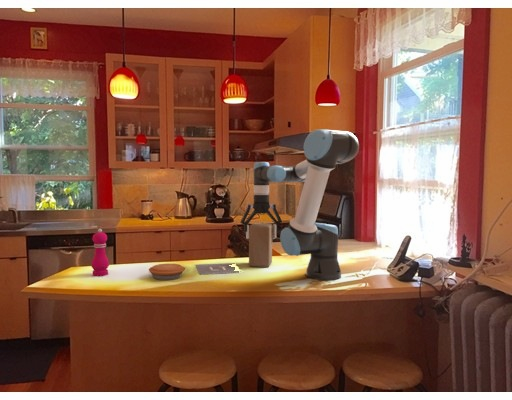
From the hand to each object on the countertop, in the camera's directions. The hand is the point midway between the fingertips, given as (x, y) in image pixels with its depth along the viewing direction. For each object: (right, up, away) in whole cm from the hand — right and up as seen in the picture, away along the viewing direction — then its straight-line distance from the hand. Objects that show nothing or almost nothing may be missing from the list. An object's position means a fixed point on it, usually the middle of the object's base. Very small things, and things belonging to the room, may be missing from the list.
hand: (261, 238), depth 206 cm
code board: (-20, -14, -8) cm, 25 cm away
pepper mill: (-70, -14, -22) cm, 75 cm away
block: (0, -13, +1) cm, 14 cm away
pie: (-41, -15, -24) cm, 49 cm away
